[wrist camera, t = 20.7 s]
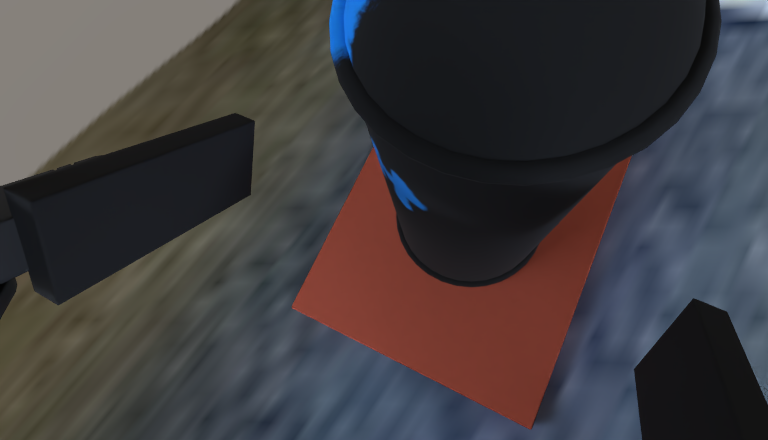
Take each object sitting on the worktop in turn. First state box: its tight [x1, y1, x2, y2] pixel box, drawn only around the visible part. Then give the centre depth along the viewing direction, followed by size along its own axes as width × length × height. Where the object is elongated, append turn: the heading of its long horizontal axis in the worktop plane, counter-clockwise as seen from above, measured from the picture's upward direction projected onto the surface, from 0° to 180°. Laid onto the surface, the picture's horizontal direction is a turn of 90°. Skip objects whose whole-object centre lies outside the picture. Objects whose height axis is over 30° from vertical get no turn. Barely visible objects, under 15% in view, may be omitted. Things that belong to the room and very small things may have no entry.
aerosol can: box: [329, 0, 721, 287], centre depth 15 cm, size 8×8×20 cm
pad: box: [292, 147, 631, 429], centre depth 25 cm, size 14×18×1 cm
